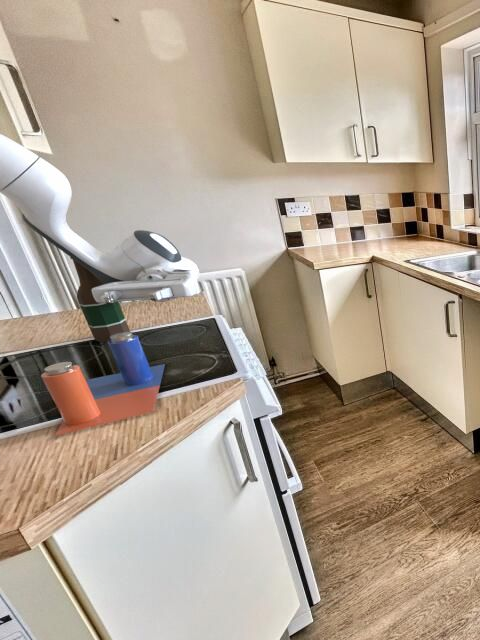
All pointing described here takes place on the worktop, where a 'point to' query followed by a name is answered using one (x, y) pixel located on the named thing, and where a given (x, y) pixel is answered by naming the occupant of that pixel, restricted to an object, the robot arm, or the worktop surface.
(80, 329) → the worktop surface
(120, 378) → the sorting board
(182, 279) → the robot arm
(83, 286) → the beer bottle
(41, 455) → the worktop surface
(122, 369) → the blue shaker
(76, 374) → the terracotta shaker
